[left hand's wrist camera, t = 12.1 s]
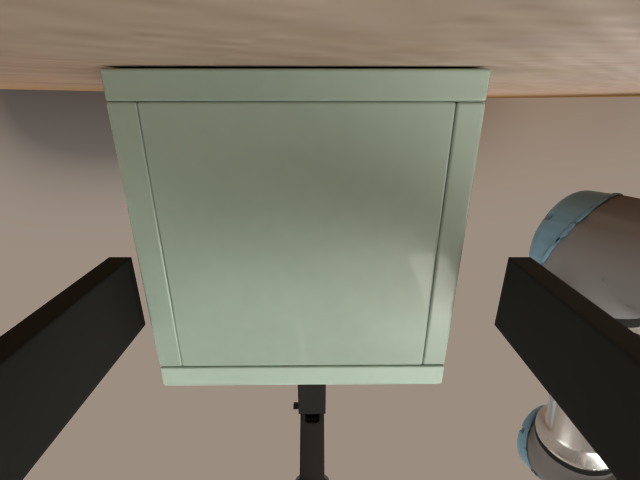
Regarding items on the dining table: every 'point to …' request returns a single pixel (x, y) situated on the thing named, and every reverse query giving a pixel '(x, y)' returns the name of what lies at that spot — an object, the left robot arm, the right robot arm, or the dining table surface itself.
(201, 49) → the dining table surface
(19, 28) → the dining table surface
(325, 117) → the chest
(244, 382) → the lid
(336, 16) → the dining table surface
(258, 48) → the dining table surface
